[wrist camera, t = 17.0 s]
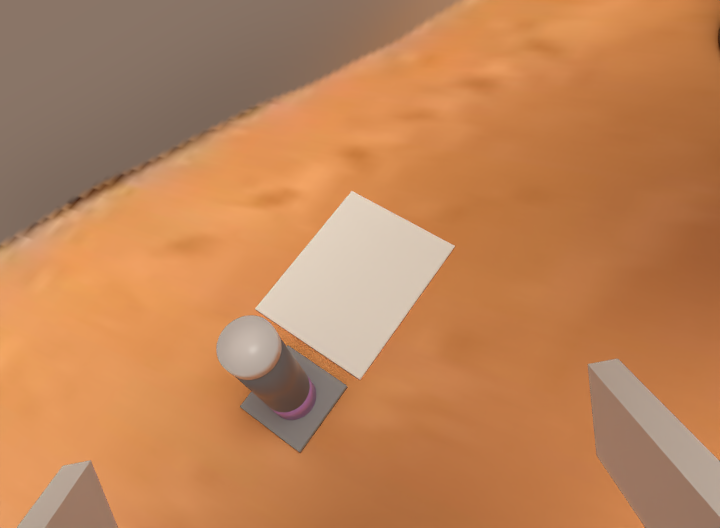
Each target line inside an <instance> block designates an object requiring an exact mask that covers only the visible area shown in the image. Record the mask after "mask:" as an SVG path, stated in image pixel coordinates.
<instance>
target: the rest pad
mask: <svg viewBox="0 0 720 528" xmlns="http://www.w3.org/2000/svg"><path fill="white" fill-rule="evenodd" d="M287 348H288V349H289V351H290V352H291V354H292V355H293V356H294V358H295V359H296V360H297V362H298V363H299V365H300V366H301V367H302V369H303V370H304V372H305V373H306V374H307V376H308V377H309V378H310V380H311V381H312V383H313V384H314V386H315V389H316V401H315V404H314V406H313V408H312V410H311V411H310V412H309V413H308V414H307V415H305V416H304V417H302V418H300V419H297V420H287V419H284V418H281V417H280V416H278V415H277V414H276V413H275V412H274V411H273V410H272V409H271V408H269V407H268V406H267V405H266V404H265V403H264V402H263V401H262V400H261V399H260V398H258V397H257V396H256V395H255V394H254V393H253V392H251V393H250V394H249V396H248V397H247V398H246V399H245V401H244V402H243V403H242V405H241V406H240V407H241V408H242V409H243V410H245V411H246V412H247V413H249V414H250V415H251V416H253V417H254V418H255V419H257V420H258V421H259V422H260V423H262V424H263V425H264V426H266V427H267V428H268V429H270V430H271V431H272V432H274V433H275V434H276V435H277V436H279V437H280V438H281V439H283V440H284V441H285V442H287V443H288V444H289V445H290V446H292V447H293V448H294V449H296V450H297V451H298V452H300V453H301V451H302V450H303V449H304V447H305V446H306V444H307V443H308V442H309V440H310V439H311V437H312V436H313V435H314V433H315V432H316V430H317V429H318V428H319V426H320V425H321V423H322V422H323V421H324V419H325V418H326V416H327V415H328V414H329V412H330V411H331V410H332V408H333V407H334V405H335V404H336V403H337V401H338V400H339V398H340V397H341V396H342V394H343V393H344V391H345V390H346V389H347V386H346V385H345V384H343V383H342V382H341V381H339V380H338V379H336V378H335V377H333V376H332V375H330V374H329V373H327V372H326V371H325V370H323V369H322V368H320V367H319V366H317V365H316V364H314V363H313V362H311V361H310V360H309V359H307V358H306V357H304V356H303V355H301V354H300V353H298V352H297V351H295V350H294V349H292V348H291V347H290V346H288V345H287Z"/></svg>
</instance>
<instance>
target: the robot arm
mask: <svg viewBox="0 0 720 528" xmlns="http://www.w3.org/2000/svg"><path fill="white" fill-rule="evenodd" d="M719 44H720V30H719ZM588 373H589V383H590V393H591V404H592V414H593V424H594V434H595V445H596V455H597V457H598V458H599V460H600V461H601V463H602V464H603V466H604V467H605V469H606V470H607V472H608V473H609V475H610V476H611V477H612V479H613V480H614V482H615V483H616V485H617V486H618V488H619V489H620V491H621V492H622V494H623V495H624V497H625V498H626V500H627V501H628V503H629V504H630V506H631V507H632V509H633V510H634V512H635V513H636V514H637V516H638V517H639V519H640V520H641V522H642V523H643V525H644V526H645V528H720V461H719V460H718V459H717V458H716V457H715V456H714V455H713V454H712V453H711V452H710V451H709V450H708V449H707V448H706V447H705V446H704V445H703V444H702V443H701V442H700V441H699V440H698V439H697V438H696V437H695V436H694V435H693V434H692V433H691V432H690V431H689V430H688V429H687V428H686V427H685V426H684V425H683V424H682V423H681V422H680V421H679V420H678V419H677V418H676V417H675V416H674V415H673V414H672V413H671V412H670V411H669V410H668V409H667V408H666V407H665V406H664V405H663V404H662V403H661V402H660V401H659V400H658V399H657V398H656V397H655V396H654V395H653V394H652V393H651V392H650V391H649V390H648V389H647V388H646V387H645V386H644V385H643V384H642V383H641V382H640V380H639V379H638V378H637V377H636V376H635V375H634V374H633V373H632V372H631V371H630V370H629V369H628V368H627V367H626V366H625V365H624V364H623V363H622V362H621V361H620V360H619V359H613V360H608V361H602V362H597V363H592V364H588ZM17 528H118V526H117V524H116V521H115V519H114V517H113V514H112V512H111V509H110V507H109V504H108V502H107V499H106V497H105V494H104V492H103V489H102V487H101V484H100V482H99V479H98V477H97V474H96V472H95V470H94V467H93V465H92V462H91V460H90V461H85V462H80V463H75V464H70V465H64V466H62V468H61V469H60V470H59V472H58V473H57V474H56V476H55V477H54V478H53V480H52V481H51V482H50V484H49V485H48V486H47V488H46V489H45V490H44V492H43V493H42V494H41V496H40V497H39V498H38V500H37V501H36V502H35V504H34V505H33V506H32V508H31V509H30V510H29V512H28V513H27V515H26V516H25V517H24V519H23V520H22V521H21V523H20V524H19V525H18V527H17Z"/></svg>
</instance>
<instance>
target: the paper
mask: <svg viewBox="0 0 720 528" xmlns="http://www.w3.org/2000/svg"><path fill="white" fill-rule="evenodd" d="M454 248H455V246H454V245H452V244H450V243H448V242H447V241H445V240H443V239H441V238H439V237H437V236H435V235H433V234H432V233H430V232H428V231H426V230H424V229H422V228H420V227H418V226H417V225H415V224H413V223H411V222H409V221H407V220H405V219H403V218H402V217H400V216H398V215H396V214H394V213H392V212H390V211H388V210H387V209H385V208H383V207H381V206H379V205H377V204H375V203H373V202H372V201H370V200H368V199H366V198H364V197H362V196H360V195H358V194H357V193H355V192H353V191H351V192H350V194H349V195H348V196H347V197H346V199H345V200H344V201H343V202H342V203H341V205H340V206H339V207H338V208H337V210H336V211H335V212H334V213H333V214H332V216H331V217H330V218H329V219H328V220H327V222H326V223H325V224H324V225H323V227H322V228H321V229H320V230H319V231H318V233H317V234H316V235H315V236H314V238H313V239H312V240H311V241H310V242H309V244H308V245H307V246H306V247H305V249H304V250H303V251H302V252H301V253H300V255H299V256H298V257H297V258H296V259H295V261H294V262H293V263H292V264H291V266H290V267H289V268H288V269H287V270H286V272H285V273H284V274H283V275H282V277H281V278H280V279H279V280H278V281H277V283H276V284H275V285H274V286H273V287H272V289H271V290H270V291H269V292H268V294H267V295H266V296H265V297H264V298H263V300H262V301H261V302H260V303H259V305H258V306H257V307H256V308H255V309H256V310H257V311H258V312H260V313H261V314H263V315H264V316H266V317H267V318H269V319H270V320H272V321H273V322H275V323H276V324H278V325H279V326H281V327H282V328H284V329H285V330H286V331H288V332H289V333H291V334H292V335H294V336H295V337H297V338H298V339H300V340H301V341H303V342H304V343H306V344H307V345H309V346H310V347H312V348H313V349H315V350H316V351H318V352H319V353H321V354H322V355H324V356H325V357H326V358H328V359H329V360H331V361H332V362H334V363H335V364H337V365H338V366H340V367H341V368H343V369H344V370H346V371H347V372H349V373H350V374H352V375H353V376H355V377H356V378H358V379H359V380H361V378H362V377H363V375H364V374H365V373H366V371H367V370H368V368H369V367H370V366H371V364H372V363H373V361H374V360H375V359H376V357H377V356H378V354H379V353H380V352H381V350H382V349H383V347H384V346H385V345H386V343H387V342H388V340H389V339H390V338H391V336H392V335H393V333H394V332H395V331H396V329H397V328H398V326H399V325H400V323H401V322H402V321H403V319H404V318H405V316H406V315H407V314H408V312H409V311H410V309H411V308H412V307H413V305H414V304H415V302H416V301H417V300H418V298H419V297H420V295H421V294H422V293H423V291H424V290H425V288H426V287H427V286H428V284H429V283H430V281H431V280H432V279H433V277H434V276H435V274H436V273H437V272H438V270H439V269H440V267H441V266H442V264H443V263H444V262H445V260H446V259H447V257H448V256H449V255H450V253H451V252H452V250H453V249H454Z"/></svg>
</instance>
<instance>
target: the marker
mask: <svg viewBox="0 0 720 528" xmlns="http://www.w3.org/2000/svg"><path fill="white" fill-rule="evenodd" d="M217 356H218V359H219V362H220V363H221V365H222V366H223V367H224V368H225V369H226V370H227V371H228V372H229V373H231V374H232V375H233V376H235V377H236V378H237V379H238V380H240V381H241V382H242V383H243V384H244V385H245V386H246V387H247V388H248V389H250V390H251V391H252V392H253V393H254V394H255V395H256V396H257V397H258V398H260V399H261V400H262V401H263V402H264V403H265V404H266V405H267V406H268V407H269V408H271V409H272V410H273V411H274V412H275V413H276V414H277V415H278V416H280V417H281V418H284V419H287V420H297V419H300V418H302V417H304V416H305V415H307V414H308V413H309V412H310V411H311V410H312V408H313V406H314V404H315V401H316V389H315V386H314V384H313V383H312V381H311V380H310V378H309V377H308V376H307V374H306V373H305V372H304V370H303V369H302V367H301V366H300V365H299V363H298V362H297V360H296V359H295V358H294V356H293V355H292V354H291V352H290V351H289V349H288V348H287V347H286V345H285V344H284V342H283V341H282V340H281V338H280V336H279V334H278V333H277V331H276V330H275V329H274V327H273V326H272V325H271V323H270V322H268V321H267V320H266V319H264V318H262V317H259V316H253V315H252V316H243V317H240V318H238V319H236V320H234V321H232V322H231V323H229V324H228V325H227V326H226V327H225V328H224V330H223V331H222V333H221V334H220V336H219V339H218V342H217Z"/></svg>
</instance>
